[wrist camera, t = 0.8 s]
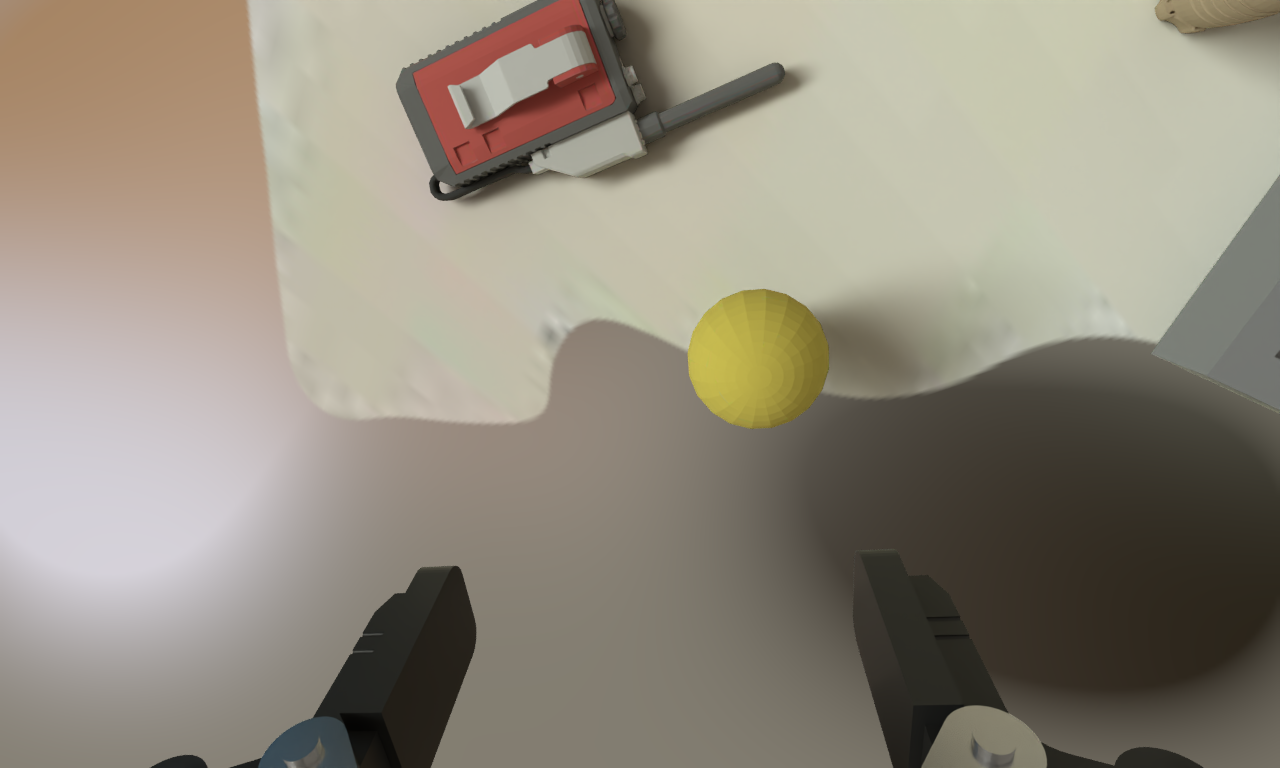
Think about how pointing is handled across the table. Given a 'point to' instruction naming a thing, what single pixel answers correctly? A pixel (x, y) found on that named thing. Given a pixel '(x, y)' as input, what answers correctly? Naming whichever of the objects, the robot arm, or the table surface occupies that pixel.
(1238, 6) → the handle
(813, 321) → the light bulb
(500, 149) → the walkie-talkie
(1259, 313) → the gray rectangular tray
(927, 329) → the table surface
